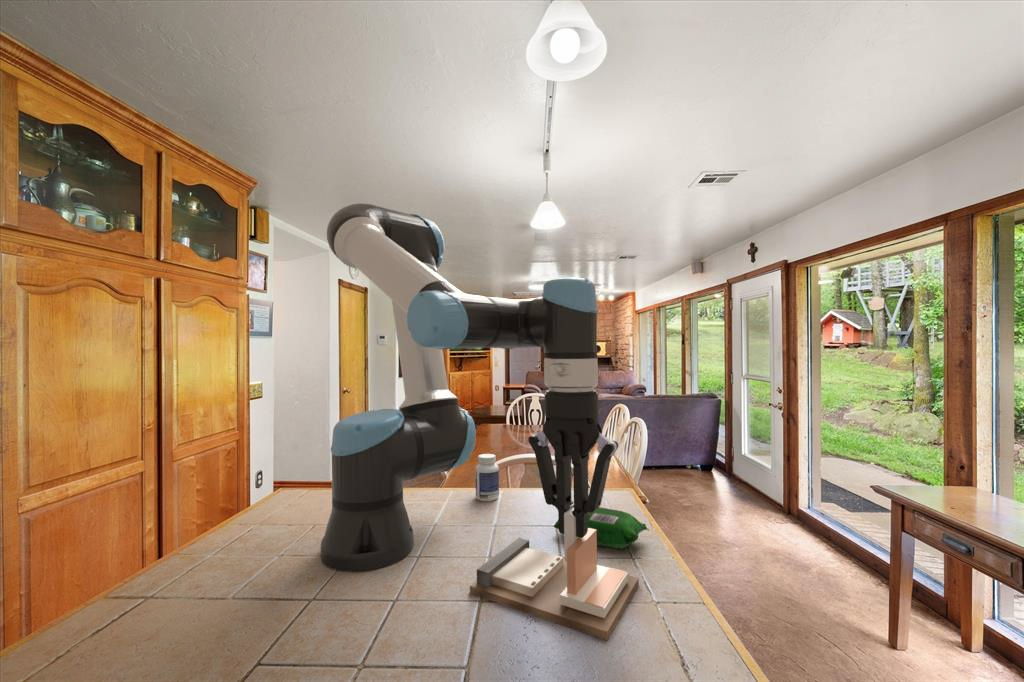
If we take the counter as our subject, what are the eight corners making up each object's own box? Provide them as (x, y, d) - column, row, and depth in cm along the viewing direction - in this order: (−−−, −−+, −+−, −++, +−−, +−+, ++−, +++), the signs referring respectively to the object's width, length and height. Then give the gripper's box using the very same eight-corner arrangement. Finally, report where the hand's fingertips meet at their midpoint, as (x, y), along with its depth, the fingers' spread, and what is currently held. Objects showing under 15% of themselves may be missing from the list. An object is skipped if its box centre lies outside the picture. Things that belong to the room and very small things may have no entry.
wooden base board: (469, 592, 62) (469, 571, 62) (519, 552, 74) (519, 534, 74) (607, 640, 52) (606, 614, 52) (638, 584, 64) (638, 564, 64)
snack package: (638, 559, 72) (638, 527, 72) (551, 538, 80) (551, 509, 80) (648, 542, 78) (648, 513, 78) (566, 525, 86) (566, 498, 86)
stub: (559, 604, 57) (559, 551, 57) (587, 570, 66) (587, 524, 66) (604, 618, 54) (603, 562, 54) (627, 581, 62) (627, 533, 63)
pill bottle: (503, 497, 101) (503, 455, 101) (486, 503, 98) (485, 459, 98) (488, 492, 105) (488, 451, 105) (470, 498, 101) (470, 455, 102)
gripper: (517, 389, 62) (519, 558, 61) (606, 393, 55) (610, 582, 55) (541, 385, 68) (544, 538, 68) (624, 388, 62) (627, 557, 61)
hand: (573, 557), depth 61 cm, fingers closed
